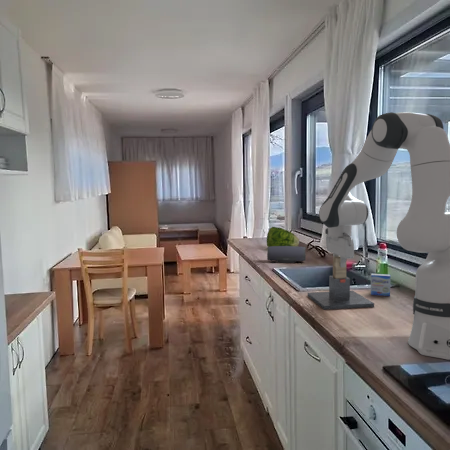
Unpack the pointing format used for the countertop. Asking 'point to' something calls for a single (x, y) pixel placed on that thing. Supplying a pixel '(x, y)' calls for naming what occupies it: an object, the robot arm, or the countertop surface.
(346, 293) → the stand
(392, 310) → the countertop surface
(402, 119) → the robot arm
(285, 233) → the lettuce
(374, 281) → the medicine box
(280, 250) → the bluetooth speaker
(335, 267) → the post
